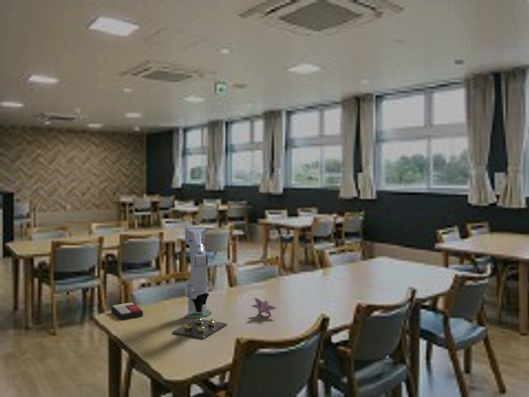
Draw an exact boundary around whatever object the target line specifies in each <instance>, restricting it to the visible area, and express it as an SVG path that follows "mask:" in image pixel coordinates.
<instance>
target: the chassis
mask: <svg viewBox="0 0 529 397" xmlns="http://www.w3.org/2000/svg"><path fill="white" fill-rule="evenodd" d="M203 318H204V317H201V318H200V319H198V318H194V320H192V321H190V322H189V321H188V322H187V323H185V324H184V325H182V326H180V327H179V328H176V329H174V330H172V332H171V334H172V335H177V336H184V337H187V338H193V339H198V340H205V339H207V338H209V337H211V336H212V335H214V334H216V332H218V331H220V330H222V329H223V328H225V327H227V325H228V324H227V322H221V321H216V320H215V319H213V318H211V319H210V320H209V319H203Z"/></svg>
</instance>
